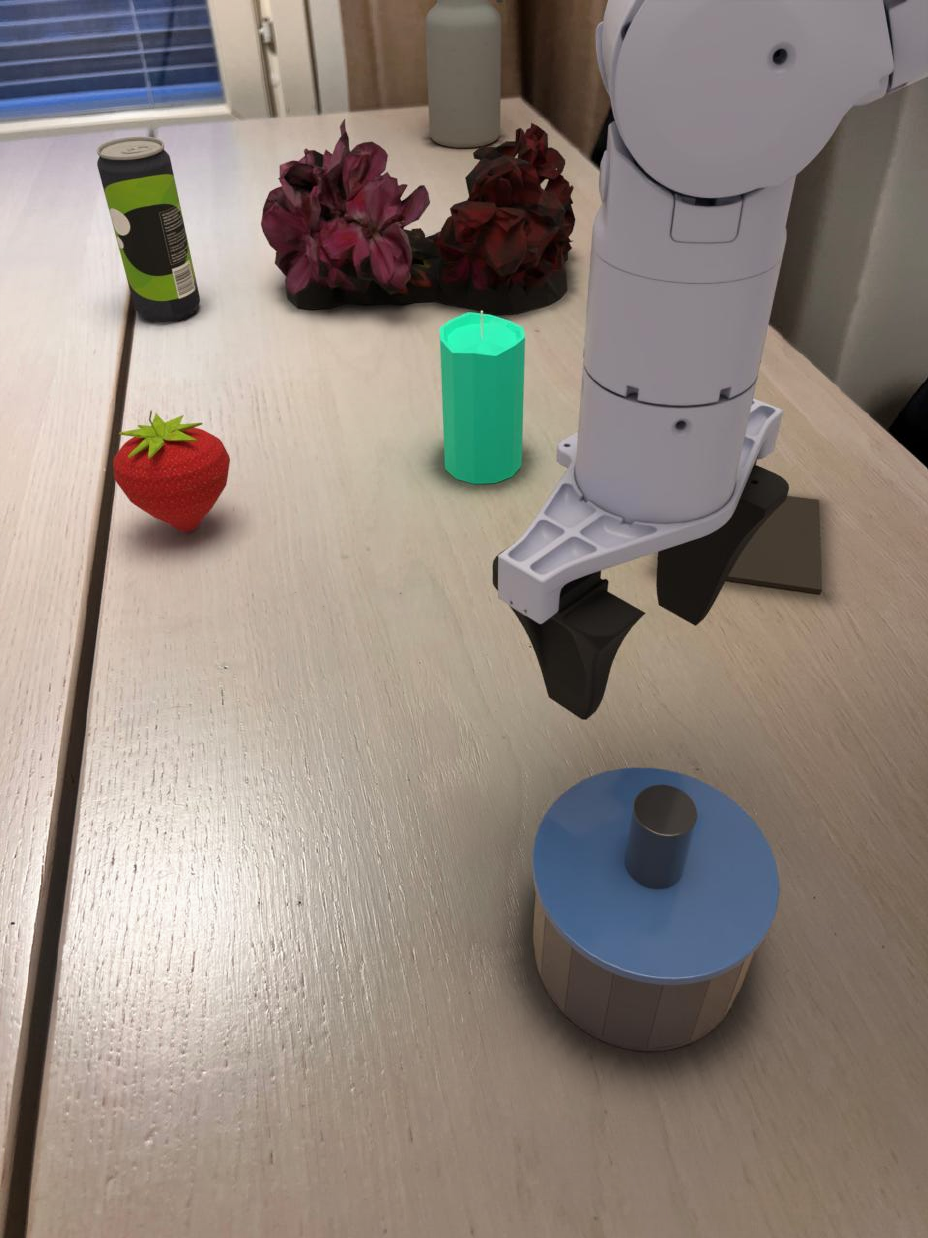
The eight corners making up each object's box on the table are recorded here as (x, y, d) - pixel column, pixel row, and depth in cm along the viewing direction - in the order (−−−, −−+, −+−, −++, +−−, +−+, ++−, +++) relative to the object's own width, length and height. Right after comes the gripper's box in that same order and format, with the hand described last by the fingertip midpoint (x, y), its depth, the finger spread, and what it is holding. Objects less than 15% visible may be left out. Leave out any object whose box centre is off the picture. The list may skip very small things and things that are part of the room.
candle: (433, 448, 74) (427, 299, 66) (506, 434, 75) (509, 287, 67) (456, 490, 70) (452, 336, 61) (533, 475, 71) (539, 323, 63)
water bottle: (499, 126, 136) (501, -122, 117) (506, 147, 128) (509, -113, 109) (428, 129, 135) (418, -120, 116) (431, 150, 128) (421, -111, 109)
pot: (744, 883, 45) (771, 801, 41) (735, 1076, 39) (767, 1003, 34) (553, 844, 47) (560, 762, 43) (515, 1022, 41) (518, 947, 36)
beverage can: (195, 292, 96) (160, 131, 86) (207, 317, 92) (172, 151, 81) (132, 304, 94) (89, 140, 84) (141, 330, 90) (97, 161, 80)
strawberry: (245, 548, 65) (217, 420, 58) (132, 564, 64) (90, 436, 57) (242, 499, 69) (215, 374, 62) (136, 513, 68) (97, 388, 61)
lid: (775, 805, 42) (799, 735, 38) (771, 1021, 35) (800, 957, 31) (554, 764, 43) (559, 694, 40) (508, 960, 36) (510, 894, 33)
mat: (817, 504, 68) (819, 499, 67) (820, 594, 60) (821, 589, 60) (675, 486, 70) (676, 481, 69) (661, 571, 62) (662, 566, 62)
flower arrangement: (555, 236, 105) (563, 85, 95) (601, 314, 91) (616, 145, 80) (271, 258, 102) (247, 104, 92) (271, 342, 87) (243, 170, 77)
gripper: (694, 265, 37) (654, 539, 47) (427, 404, 30) (442, 698, 39) (862, 319, 34) (782, 606, 43) (605, 493, 26) (575, 795, 35)
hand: (628, 655), depth 41 cm, fingers open, 7 cm apart
